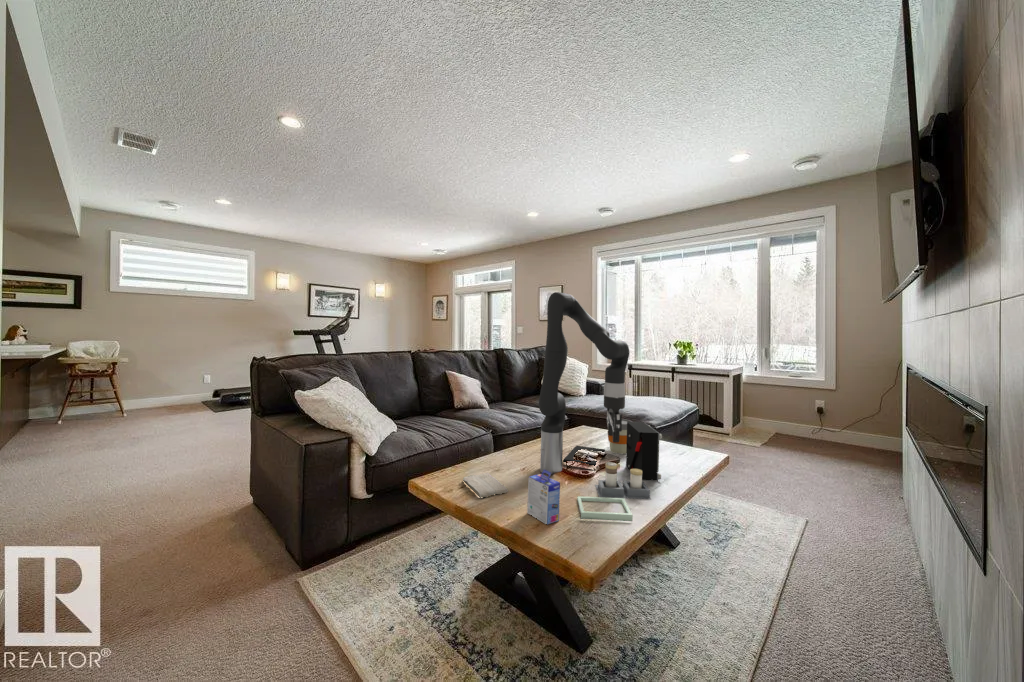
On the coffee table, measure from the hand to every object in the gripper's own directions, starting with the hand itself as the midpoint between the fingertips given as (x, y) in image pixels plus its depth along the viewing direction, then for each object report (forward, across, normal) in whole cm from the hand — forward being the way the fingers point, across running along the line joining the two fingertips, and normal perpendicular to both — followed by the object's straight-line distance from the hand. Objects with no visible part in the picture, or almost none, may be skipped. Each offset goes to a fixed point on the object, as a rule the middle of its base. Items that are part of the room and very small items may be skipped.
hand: (613, 438), depth 141 cm
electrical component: (+20, -20, +17) cm, 33 cm away
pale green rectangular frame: (+20, +14, -6) cm, 26 cm away
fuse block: (+20, +1, +3) cm, 20 cm away
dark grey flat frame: (+21, -36, -5) cm, 42 cm away
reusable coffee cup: (+20, -51, +14) cm, 57 cm away
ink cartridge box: (+20, +20, -26) cm, 39 cm away
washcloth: (+21, -1, -48) cm, 52 cm away
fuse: (+19, +1, -1) cm, 19 cm away
